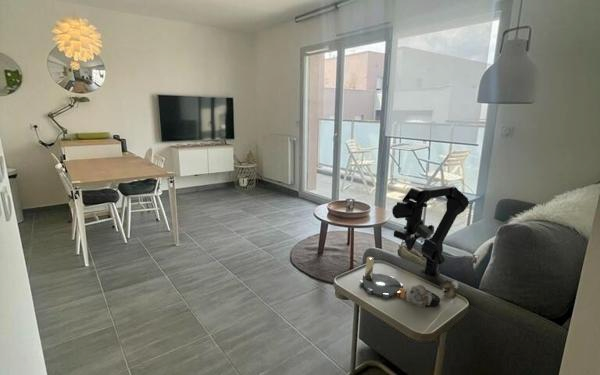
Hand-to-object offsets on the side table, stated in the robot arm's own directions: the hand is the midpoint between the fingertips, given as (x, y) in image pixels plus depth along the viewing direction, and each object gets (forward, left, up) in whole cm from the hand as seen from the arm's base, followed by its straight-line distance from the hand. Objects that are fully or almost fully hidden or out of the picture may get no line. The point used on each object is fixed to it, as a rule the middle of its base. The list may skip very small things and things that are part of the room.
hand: (409, 250), depth 144 cm
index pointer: (+17, +7, -13) cm, 23 cm away
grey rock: (+14, +14, -13) cm, 24 cm away
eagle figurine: (0, +18, -13) cm, 23 cm away
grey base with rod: (+17, -3, -12) cm, 22 cm away
